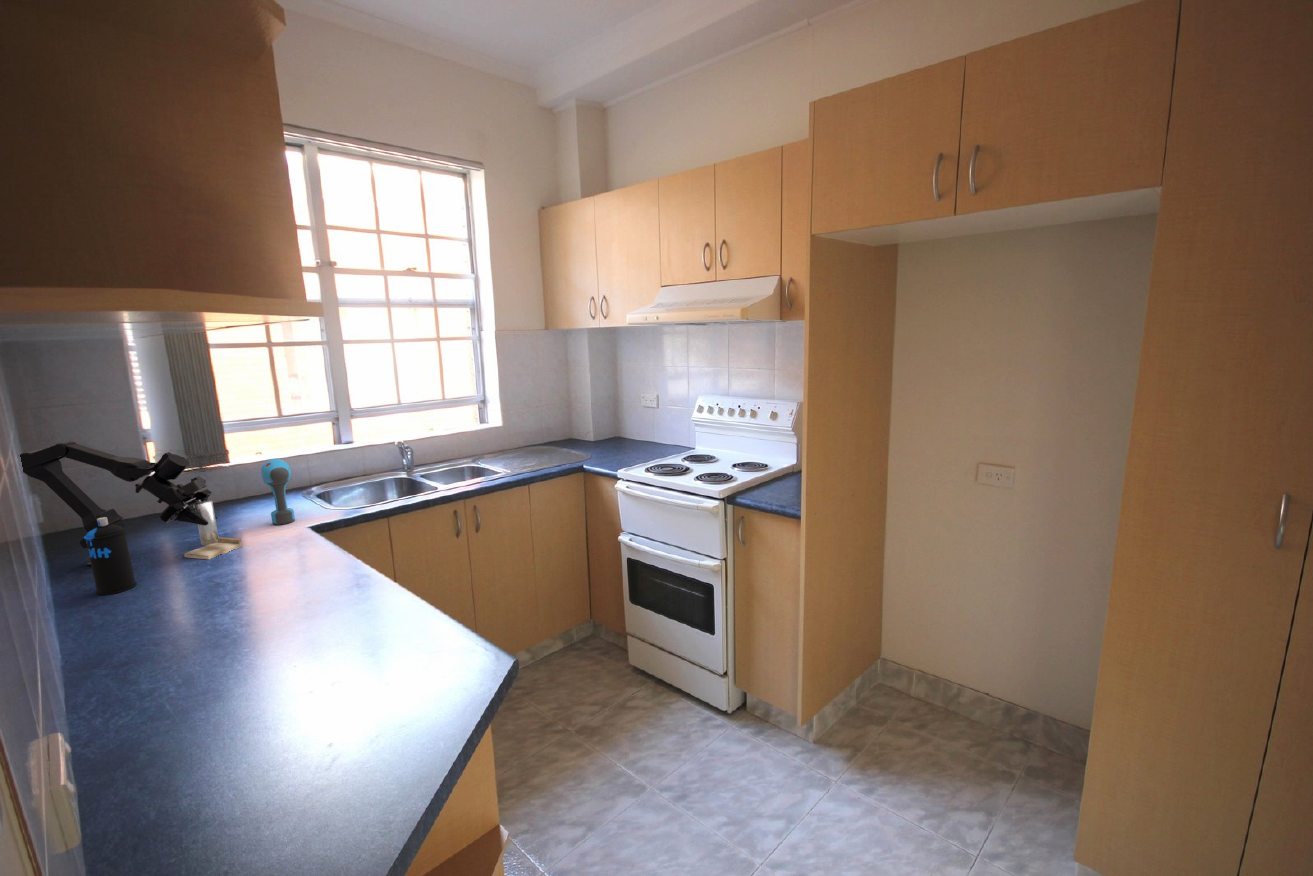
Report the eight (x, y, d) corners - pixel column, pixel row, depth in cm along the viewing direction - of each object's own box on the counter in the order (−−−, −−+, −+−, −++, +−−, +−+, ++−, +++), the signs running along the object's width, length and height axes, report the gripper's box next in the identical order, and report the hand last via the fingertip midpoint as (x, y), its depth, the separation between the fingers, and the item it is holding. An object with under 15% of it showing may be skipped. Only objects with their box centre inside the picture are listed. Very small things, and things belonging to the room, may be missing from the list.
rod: (205, 545, 180) (198, 505, 178) (198, 543, 182) (191, 503, 180) (222, 541, 184) (215, 501, 181) (214, 539, 186) (207, 499, 184)
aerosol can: (124, 581, 163) (110, 512, 159) (144, 584, 160) (130, 514, 157) (88, 593, 155) (72, 522, 151) (109, 597, 152) (93, 524, 149)
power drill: (262, 514, 223) (253, 455, 219) (288, 509, 229) (280, 451, 225) (273, 531, 202) (263, 466, 198) (302, 525, 208) (292, 461, 204)
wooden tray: (208, 559, 177) (207, 551, 177) (184, 557, 180) (183, 549, 180) (242, 546, 188) (241, 538, 187) (219, 544, 190) (217, 537, 190)
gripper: (164, 478, 169) (213, 511, 173) (200, 464, 187) (243, 495, 191) (138, 506, 169) (187, 539, 173) (176, 490, 187) (220, 520, 191)
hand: (211, 521), depth 182 cm, fingers closed on rod, 4 cm apart
